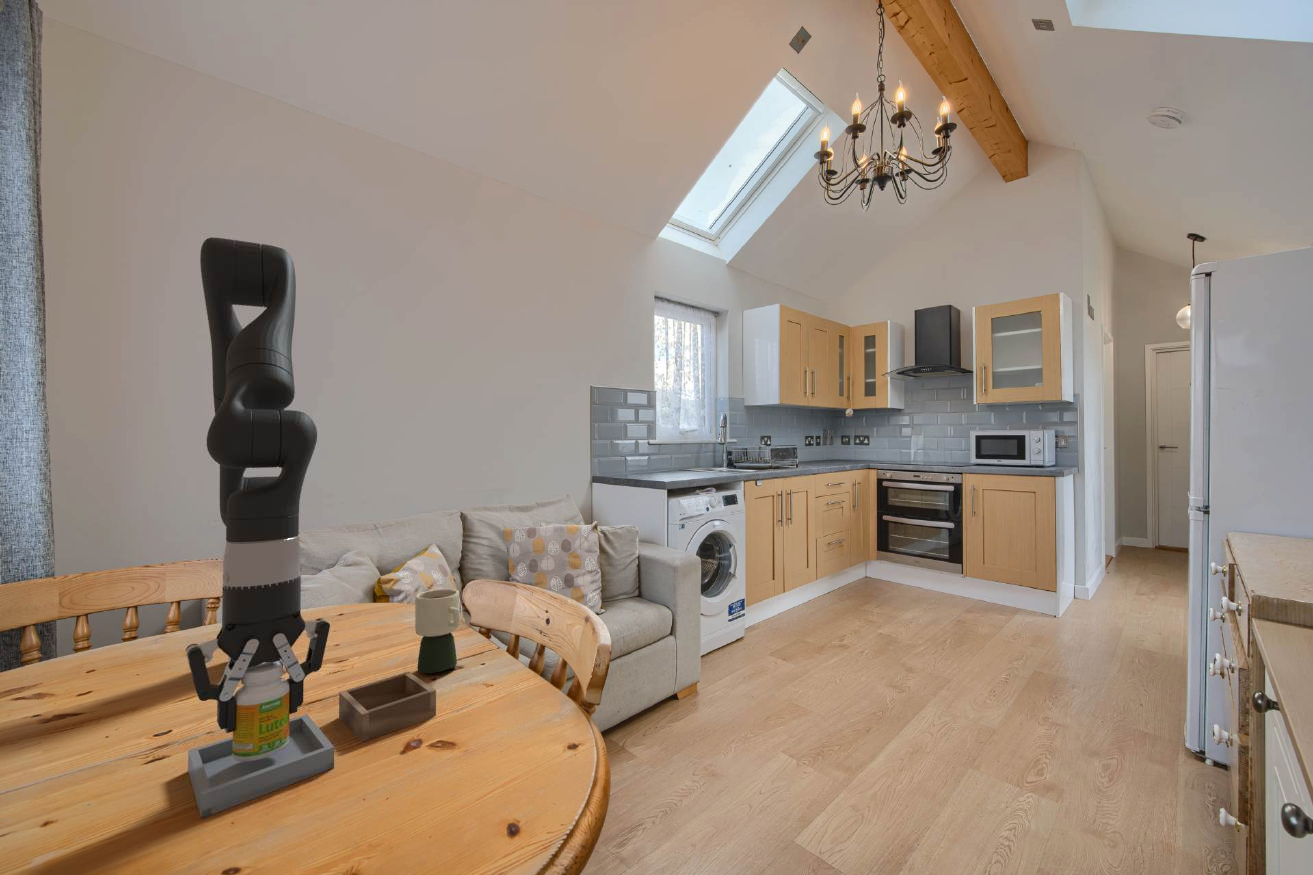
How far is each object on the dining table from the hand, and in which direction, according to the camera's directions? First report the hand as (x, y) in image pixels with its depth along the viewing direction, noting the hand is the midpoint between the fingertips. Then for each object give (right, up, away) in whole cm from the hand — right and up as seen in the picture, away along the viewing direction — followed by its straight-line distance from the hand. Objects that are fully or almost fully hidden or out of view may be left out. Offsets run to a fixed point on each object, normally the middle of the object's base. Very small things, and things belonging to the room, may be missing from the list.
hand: (261, 719), depth 63 cm
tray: (0, -6, 0) cm, 6 cm away
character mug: (+9, -7, +29) cm, 31 cm away
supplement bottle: (0, -4, 0) cm, 4 cm away
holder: (+9, -6, +12) cm, 16 cm away
